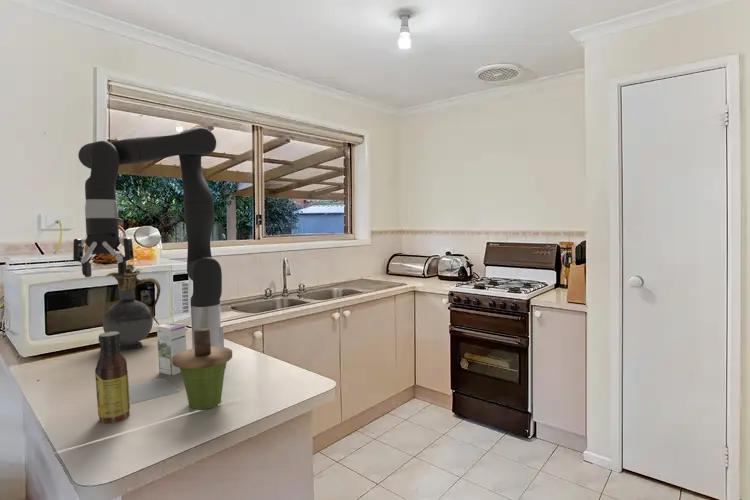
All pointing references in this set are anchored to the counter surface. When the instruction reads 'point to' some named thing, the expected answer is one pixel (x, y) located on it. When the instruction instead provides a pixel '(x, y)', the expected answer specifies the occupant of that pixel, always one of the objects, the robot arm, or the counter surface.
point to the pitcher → (130, 311)
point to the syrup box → (170, 346)
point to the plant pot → (204, 385)
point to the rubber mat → (150, 390)
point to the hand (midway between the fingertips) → (105, 276)
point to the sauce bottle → (112, 380)
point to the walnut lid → (202, 353)
